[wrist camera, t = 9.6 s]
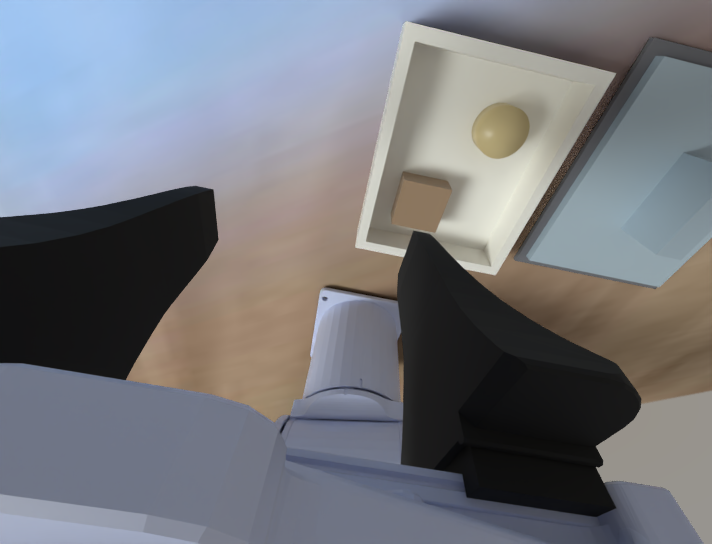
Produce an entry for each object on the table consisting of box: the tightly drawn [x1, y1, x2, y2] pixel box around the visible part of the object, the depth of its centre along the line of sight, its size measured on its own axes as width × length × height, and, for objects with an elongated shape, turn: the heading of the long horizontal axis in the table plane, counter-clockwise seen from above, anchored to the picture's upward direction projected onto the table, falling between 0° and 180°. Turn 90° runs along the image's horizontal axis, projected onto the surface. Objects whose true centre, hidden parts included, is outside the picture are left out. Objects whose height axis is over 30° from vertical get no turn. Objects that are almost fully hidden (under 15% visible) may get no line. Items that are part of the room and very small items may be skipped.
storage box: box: [355, 21, 616, 275], centre depth 18 cm, size 12×10×3 cm
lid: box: [526, 56, 712, 287], centre depth 18 cm, size 12×10×4 cm
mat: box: [514, 38, 712, 289], centre depth 19 cm, size 14×12×1 cm
